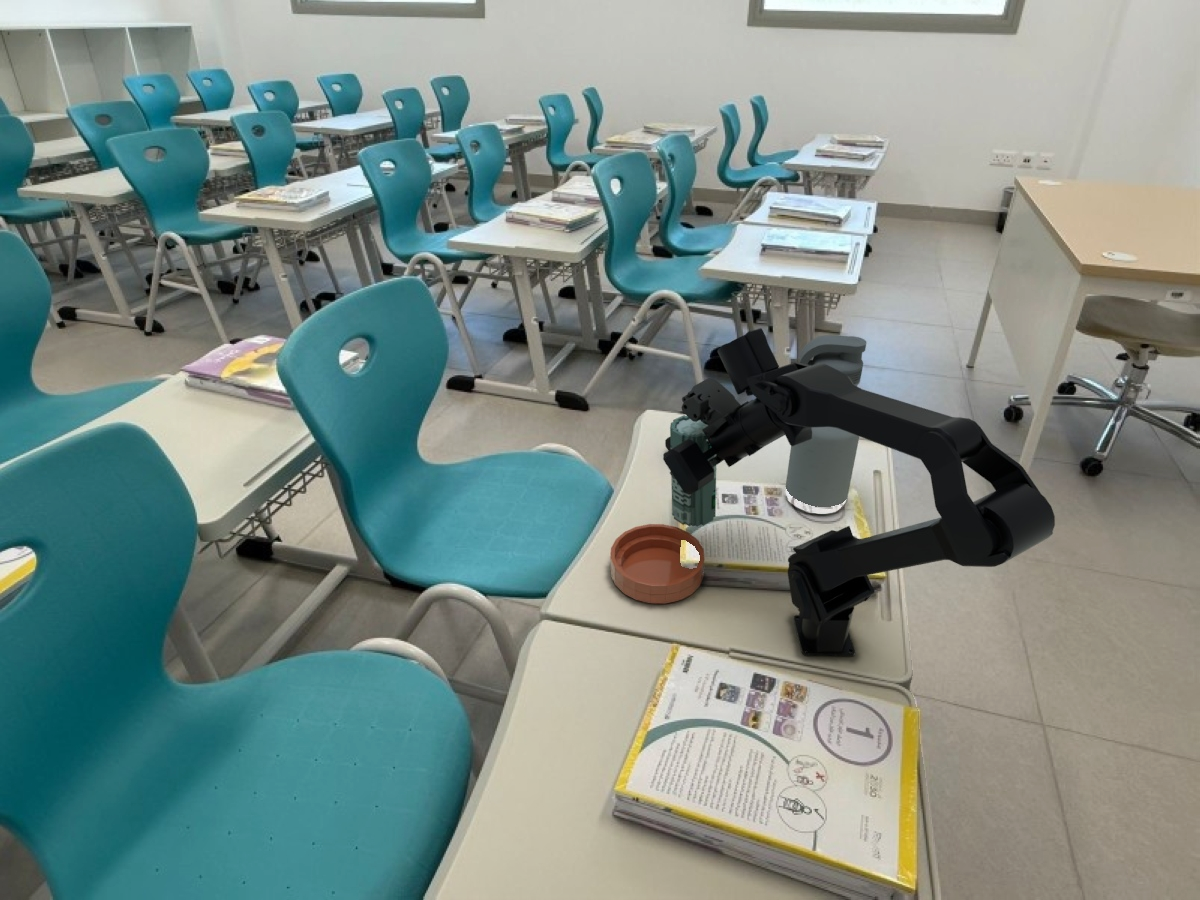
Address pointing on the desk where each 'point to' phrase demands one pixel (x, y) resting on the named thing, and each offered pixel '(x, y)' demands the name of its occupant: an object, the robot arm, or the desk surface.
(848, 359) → the water bottle
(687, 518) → the can
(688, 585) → the bowl
